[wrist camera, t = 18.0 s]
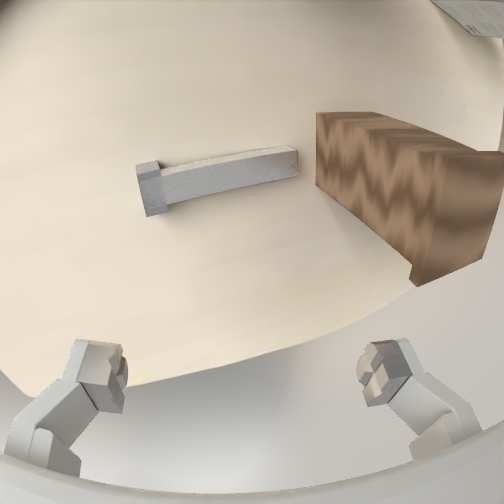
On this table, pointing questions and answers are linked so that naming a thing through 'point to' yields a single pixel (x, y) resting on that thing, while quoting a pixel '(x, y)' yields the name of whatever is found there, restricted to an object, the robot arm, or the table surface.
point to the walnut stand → (411, 188)
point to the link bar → (212, 176)
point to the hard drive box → (477, 15)
